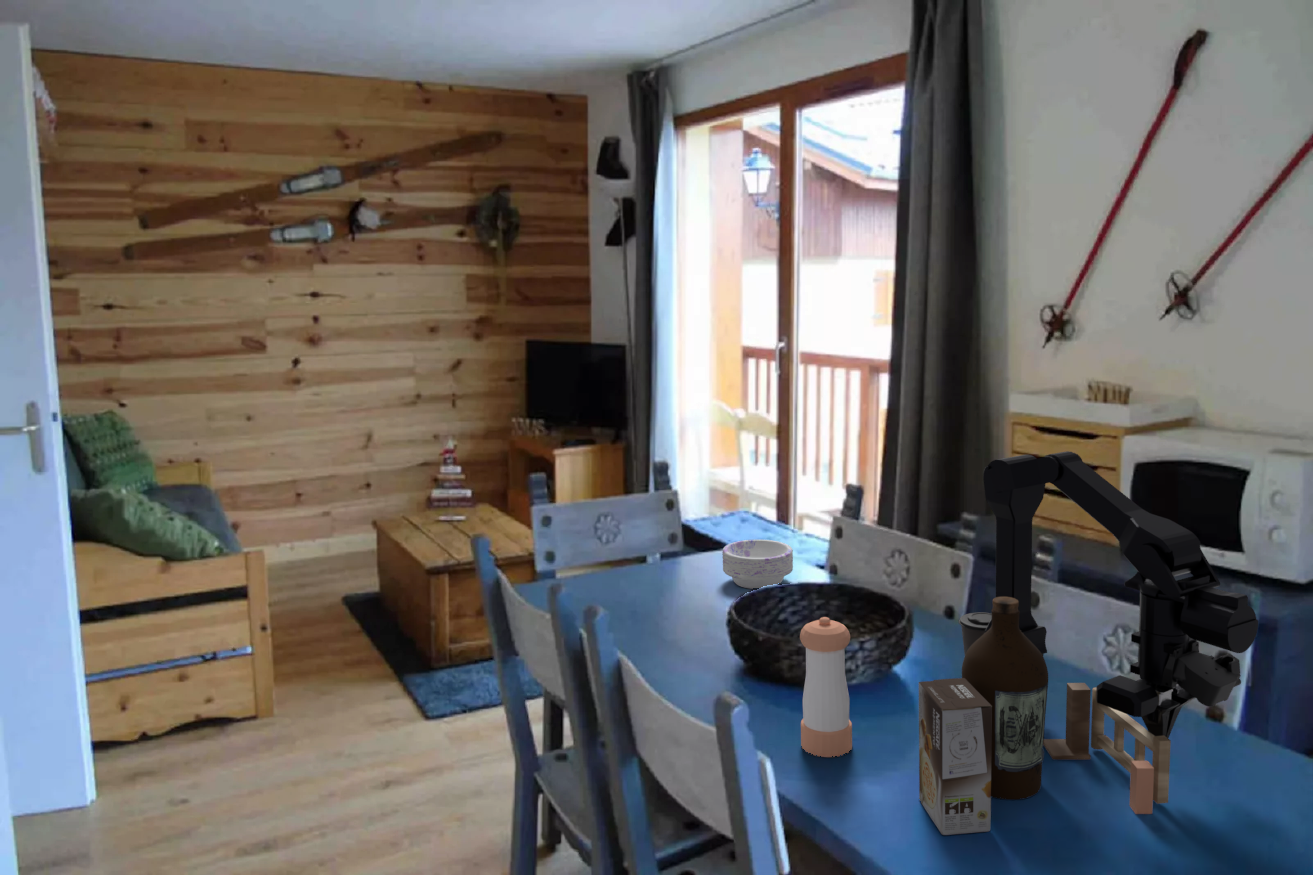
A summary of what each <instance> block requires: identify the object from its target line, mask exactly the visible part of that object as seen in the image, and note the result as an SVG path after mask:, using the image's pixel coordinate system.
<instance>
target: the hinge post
mask: <svg viewBox="0 0 1313 875" xmlns="http://www.w3.org/2000/svg"><path fill="white" fill-rule="evenodd" d="M1091 692H1092V691H1091V688H1090V687H1089V685H1087V684H1086V682H1067V683H1066V701H1065V702H1066V707H1065V708H1066V711H1065V712H1066V713H1065V738H1044V742H1043V748H1045V750H1046V752H1047V753H1048V754H1049V756H1050V758H1051V759H1052V760H1057V761H1059V760H1062V761H1063V760H1069V761H1070V760H1074V761H1079V760H1081V761H1082V760H1083V761H1084V760H1085V761H1086V760H1091V754H1090V730H1091V729H1090V725H1091V723H1090V722H1091V721H1090V720H1091V719H1090V717H1091V695H1092V694H1091Z"/></svg>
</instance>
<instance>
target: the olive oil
mask: <svg viewBox="0 0 1313 875" xmlns="http://www.w3.org/2000/svg"><path fill="white" fill-rule="evenodd" d="M1018 606H1019V601H1018V600H1017V599H1015V598H1012V597H996V596H995V597H994V598H993V599H992V609H991V613H992V626H991V628H990V629H989V630H988V631H987V632H986V633H984V634H983V635H982V636H981V637H980V638H979V639H978V640H976V641H975V642H974V643H973V644H972V645H971V646H970V648H969V649H968V650H967V652H966V655H965V654H964V658H963V660H962V665H961V678H965V679H966V680H967V681H968V682H969V683H970V684H971V685H972V686H973V687H974V688H975V689H976V690H977V691H978V692H979V693H980V694H981V695H982V696H983V697H984V698H985V699H986V700H987V701H988V702H989V703H990V704H991V706H992V739H991V798H992V799H993V798H994V799H998V800H1007V801H1008V800H1010V801H1014V800H1015V801H1016V800H1024V799H1028V798H1031V797H1034V796H1035V795H1036V794H1038V792H1040V790H1041V786H1042V777H1043V776H1042V775H1043V763H1044V759H1045V749H1044V745H1043V742H1044V739H1045V729H1046V728H1045V726H1046V714H1047V713H1046V711H1047V701H1048V700H1047V699H1048V688H1049V671H1048V670H1049V669H1048V666H1047V663H1046V660H1045V657H1044V655H1042V654H1041V652H1040V651H1039V650H1038V648H1037V647H1036V646H1035V645H1034V644H1033V643H1032V642H1031V641H1030V640H1029V639H1028V638H1027V637H1026V636H1025V635H1024V634H1023V633H1022V632H1021V630H1020V629H1019V610H1018Z"/></svg>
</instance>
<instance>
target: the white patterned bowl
mask: <svg viewBox="0 0 1313 875" xmlns="http://www.w3.org/2000/svg"><path fill="white" fill-rule="evenodd" d="M793 551H794V549H793V548H792V547H791V545H790V544H787V543H785V542H781V541H777V540H771V539H746V540H745V539H744V540H739V541H734V542H731V543H728V544H726V545H725V546H724V547H723V549H722V571H723V573H724V574H725V575H727V576H728V577H731V578H732V581H733V582H734V583H735V584H736V585H737V586H739V587H741V588H744V589H749V590H754V589H753V588H761V587H763V586H767V585H773V584H778V583H780V584H781V583H782V582H783V580H784V577H785V576H787V575H789V574H791V573H792V572H793V570H794V569H793V567H794V566H793V564H794V562H793V561H794V555H793Z"/></svg>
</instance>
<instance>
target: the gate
mask: <svg viewBox="0 0 1313 875" xmlns="http://www.w3.org/2000/svg"><path fill="white" fill-rule="evenodd" d="M1096 687H1097V686H1096ZM1096 687H1093V688H1092V691H1091V692H1092V694H1091V696H1092V697H1091V723H1090V725H1091V729H1090V731H1091V732H1090V748H1091V749H1094V750H1102V751H1104V752H1106V753H1107V755H1109V756H1110V757H1111V758H1112V759H1114V761H1116V762H1117V763H1118V764H1119V765H1121V766H1122V767H1123V768H1124V769H1125V770H1126V771H1127V772H1128V773H1129V774H1131V761H1146V748H1147V749H1149V750H1150V751H1151V752H1152V757H1151V758H1152V760H1151V761H1152V762H1151V763H1152V764H1151V765H1152V766H1153V768H1154V784H1153V802H1154V803H1156V805H1158V804H1168V803H1169V793H1170V792H1169V790H1170V789H1169V788H1170V767H1171V744H1172V743H1171V742H1172V741H1171V740H1170V739H1169V738H1167V737H1165V736H1154V735H1153V734H1152V733H1150V732H1149V731H1148V729H1147V728H1145V727H1144V726H1143V725H1142V724H1140V723H1139V722H1137V721H1136V720H1135V719H1133V718H1132V716H1131V715H1128V714H1126V713H1123V712H1120V711H1118V710H1115V709H1113V708H1110V707H1107V706H1105V705H1102V704H1100V703H1097V701H1096ZM1105 715H1107V716H1108V717H1109V718H1111V720H1113V721H1114V730H1113V731H1114V732H1113V733H1114V734H1113V735H1114V736H1113V740H1112V739H1111V738H1110V737H1109V736H1107V735H1106V734H1105ZM1125 731H1127V732H1128V733H1129V734H1130V735H1131V736H1133V737H1134V758H1133V757H1132V756H1131V755H1130V754H1129V753H1127V752H1126V751H1125V750H1124V746H1125Z"/></svg>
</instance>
